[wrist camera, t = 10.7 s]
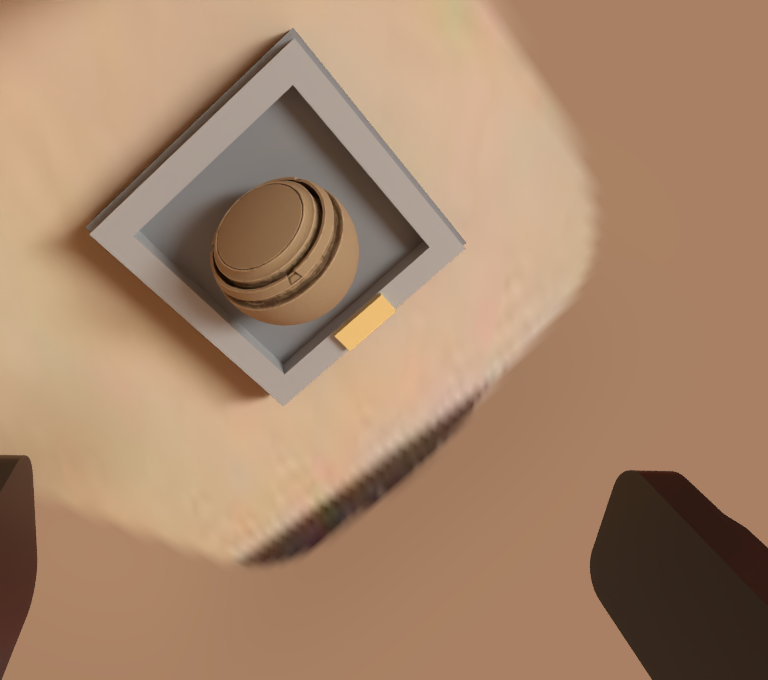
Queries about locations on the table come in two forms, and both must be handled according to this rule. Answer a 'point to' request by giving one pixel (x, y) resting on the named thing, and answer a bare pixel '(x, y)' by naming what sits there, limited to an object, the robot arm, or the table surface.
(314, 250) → the door knob
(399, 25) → the table surface
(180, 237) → the grey square tray
